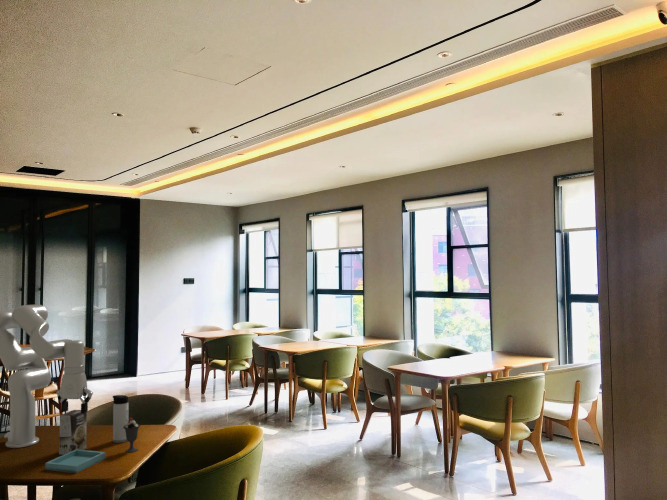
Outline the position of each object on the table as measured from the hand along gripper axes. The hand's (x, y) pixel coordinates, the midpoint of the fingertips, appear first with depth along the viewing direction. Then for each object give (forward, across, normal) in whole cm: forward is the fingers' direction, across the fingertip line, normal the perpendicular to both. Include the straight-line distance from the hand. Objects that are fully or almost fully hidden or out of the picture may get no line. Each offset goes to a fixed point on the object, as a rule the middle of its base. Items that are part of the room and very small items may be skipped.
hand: (74, 412), depth 226 cm
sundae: (+17, +22, +7) cm, 29 cm away
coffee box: (+16, -1, 0) cm, 16 cm away
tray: (+16, +11, -12) cm, 23 cm away
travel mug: (+17, +9, +17) cm, 25 cm away
